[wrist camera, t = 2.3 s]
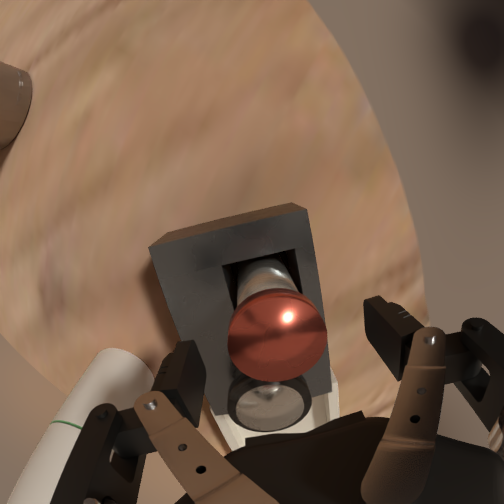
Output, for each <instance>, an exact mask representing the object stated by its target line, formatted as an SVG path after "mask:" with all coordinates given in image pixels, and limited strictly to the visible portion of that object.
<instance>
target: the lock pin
mask: <svg viewBox="0 0 504 504" xmlns="http://www.w3.org/2000/svg"><path fill="white" fill-rule="evenodd" d="M326 343H327V329H326V326H325V323H324V321H323V319H322V317H321V316H320V314H319V312H318V310H317V309H316V307H315V305H314V304H313V303H312V302H311V300H309V299H308V298H307V297H306V296H304V295H303V294H301V293H299V292H298V290H297V288H296V286H295V284H294V282H293V280H292V278H291V276H290V274H289V273H288V271H287V269H286V267H285V265H284V263H283V261H282V259H281V257H280V255H279V254H278V253H273V254H269V255H264V256H260V257H256V258H251V259H247V260H243V261H239V262H238V285H237V308H236V309H235V310H234V312H233V314H232V316H231V318H230V322H229V328H228V343H227V346H228V352H229V356H230V358H231V360H232V362H233V363H234V365H235V366H236V367H237V368H238V369H239V370H240V371H241V372H243V373H244V374H246V375H247V376H249V377H251V378H254V379H257V380H261V381H267V382H279V381H285V380H289V379H293V378H295V377H298V376H300V375H302V374H303V373H305V372H307V371H308V370H309V369H311V368H312V367H313V366H314V365H315V364H316V363H317V362H318V360H319V359H320V358H321V356H322V354H323V352H324V350H325V347H326Z"/></svg>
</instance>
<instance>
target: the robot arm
mask: <svg viewBox="0 0 504 504" xmlns="http://www.w3.org/2000/svg"><path fill="white" fill-rule="evenodd" d="M31 96H32V81H31V78H30V76H29V74H28V73H27V72H25V71H23V70H21V69H18V68H16V67H13V66H11V65H8V64H5V63H3V62H0V149H2V148H4V147H6V146H7V145H8V144H9V143H10V142H11V141H12V140H13V139H14V138H15V136H16V135H17V133H18V132H19V130H20V128H21V126H22V124H23V122H24V120H25V117H26V115H27V112H28V109H29V106H30V101H31ZM363 306H364V323H365V333H366V336H367V339H368V340H369V342H370V343H371V345H372V346H373V347H374V349H375V350H376V351H377V353H378V354H379V356H380V357H381V358H382V360H383V361H384V363H385V364H386V365H387V367H388V368H389V370H390V371H391V372H392V374H393V375H394V377H395V378H396V380H397V381H400V380H401V384H400V387H399V391H398V394H397V398H396V401H395V404H394V407H393V410H392V413H391V416H390V418H385V417H367V418H365V417H364V415H363V412H362V410H361V411H358V412H355V413H352V414H349V415H346V416H343V417H339V418H336V419H333V420H331V421H329V422H327V423H325V424H323V425H321V426H319V427H317V428H315V429H313V430H310V431H308V432H305V433H273V434H267V435H261V436H255V437H248V438H245V446H243V447H241V448H238V449H236V450H234V451H232V452H230V453H229V454H227V455H226V456H224V457H223V456H222V455H221V454H220V453H219V452H218V451H217V450H216V449H215V448H214V447H213V446H212V445H211V444H210V443H209V442H208V441H207V440H206V439H205V438H204V437H203V436H202V435H201V434H200V433H199V431H198V430H197V429H196V428H198V426H199V420H200V414H201V408H202V402H203V395H204V389H205V384H206V377H207V374H206V368H205V365H204V362H203V360H202V358H201V355H200V353H199V350H198V347H197V345H196V343H195V341H194V340H186V341H180V342H177V345H176V347H175V350H174V352H173V353H169V354H168V355H167V356H166V357H165V358H164V360H163V361H162V364H161V366H160V368H159V371H158V374H157V376H156V378H155V381H154V383H153V386H152V388H151V391H150V392H147V393H144V394H143V395H141V396H140V397H138V398H137V400H136V401H135V403H134V407H132V408H129V409H125V410H121V411H118V410H117V408H116V407H115V406H114V405H113V404H111V403H103V404H100V405H98V406H96V407H95V408H93V409H92V410H91V411H90V413H89V415H88V417H87V419H86V421H85V423H84V425H83V427H82V429H81V431H80V434H79V436H78V438H77V440H76V442H75V444H74V446H73V449H72V451H71V453H70V455H69V458H68V460H67V462H66V464H65V467H64V469H63V471H62V474H61V476H60V479H59V481H58V484H57V486H56V489H55V491H54V494H53V496H52V499H51V501H50V504H136V503H137V498H138V493H139V488H140V483H141V478H142V473H143V468H144V464H145V459H146V454H148V453H152V452H156V451H158V453H159V454H160V456H161V457H162V458H163V460H164V462H165V463H166V465H167V466H168V468H169V469H170V471H171V472H172V473H173V475H174V476H175V477H176V479H177V480H178V482H179V483H180V484H181V485H182V487H183V488H184V490H185V491H186V492H187V493H186V494H185V495H184V496H183V497H181V498H180V499H179V500H178V501H177V502H176V503H175V504H504V334H503V333H501V332H500V331H499V330H498V329H497V328H495V327H494V326H493V325H492V324H490V323H489V322H488V321H486V320H485V319H482V318H470V319H467V320H466V321H464V322H463V324H462V328H461V332H456V333H451V334H445V333H444V331H443V330H441V329H439V328H437V327H424V326H423V325H422V324H421V323H420V322H419V321H417V320H416V319H415V318H414V317H413V316H412V315H410V313H408V312H407V311H406V310H405V309H404V308H403V307H402V306H400V305H398V304H396V303H393V302H389V303H387V302H386V301H385V300H384V299H383V298H382V297H381V296H379V295H378V296H375V297H372V298H368V299H365V300H364V303H363ZM482 363H483V364H484V365H485V366H486V367H487V369H488V370H489V372H490V376H489V375H488V373H486V371H485V370H484V369H483V368H482V367H481V366H482ZM450 383H454V385H455V386H456V387H457V388H458V390H459V391H460V392H461V394H462V395H463V396H464V398H465V399H466V400H467V401H468V403H469V404H470V406H471V407H472V408H473V410H474V411H475V413H476V414H477V415H478V417H479V418H480V420H481V421H482V422H483V424H484V425H485V427H486V428H487V430H488V431H489V432H490V433H489V436H488V445H489V447H490V449H488V448H485V447H481V446H477V445H473V444H469V443H465V442H462V441H458V440H455V439H451V438H448V437H445V436H441V435H438V434H437V431H438V426H439V421H440V415H441V408H442V402H443V394H444V385H445V384H450ZM112 449H113V450H114V453H113V456H112V459H111V462H110V455H111V452H112Z"/></svg>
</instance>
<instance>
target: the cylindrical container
mask: <svg viewBox="0 0 504 504" xmlns="http://www.w3.org/2000/svg"><path fill="white" fill-rule="evenodd" d="M154 381H155V380H154V377H153V374H152V372H151V370H150V369H149V368H148V366H147V365H146V364H145V363H144V362H143V361H142V360H141V359H139V358H138V357H137V356H135V355H133V354H131V353H130V352H127V351H125V350H122V349H117V348H107V349H104V350H101V351H100V352H99V353H98V354H97V355H96V357H95V358H94V359H93V361H92V362H91V364H90V365H89V366H88V368H87V369H86V371H85V372H84V374H83V375H82V376H81V378H80V379H79V381H78V382H77V384H76V385H75V387H74V388H73V390H72V391H71V393H70V394H69V396H68V397H67V399H66V400H65V402H64V403H63V405H62V407H61V408H60V409H59V411H58V413H57V414H56V416H55V417H54V419H53V420H52V422H51V424H50V426H49V427H48V428H47V430H46V432H45V433H44V435H43V437H42V438H41V440H40V442H39V443H38V445H37V447H36V449H35V450H34V452H33V454H32V456H31V457H30V459H29V461H28V463H27V465H26V466H25V468H24V470H23V472H22V474H21V476H20V477H19V479H18V481H17V483H16V485H15V488H14V489H13V491H12V493H11V495H10V497H9V499H8V502H7V504H50V501H51V499H52V496H53V494H54V491H55V489H56V486H57V484H58V481H59V479H60V476H61V474H62V471H63V469H64V467H65V464H66V462H67V460H68V458H69V455H70V453H71V451H72V449H73V446H74V444H75V442H76V440H77V438H78V436H79V434H80V431H81V429H82V427H83V425H84V423H85V421H86V419H87V417H88V415H89V413H90V411H91V410H92V409H93V408H95V407H96V406H98V405H100V404H103V403H111V404H113V405H114V406H115V407H116V408H117V410H118V411H121V410H125V409H129V408H132V407H134V403H135V401H136V400H137V398H138V397H140V396H141V395H143V394H144V393H147V392H150V391H151V388H152V386H153V383H154ZM113 453H114V450H113V449H112V452H111V455H110V462H111V459H112V456H113Z"/></svg>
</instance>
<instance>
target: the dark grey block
mask: <svg viewBox="0 0 504 504" xmlns="http://www.w3.org/2000/svg"><path fill="white" fill-rule="evenodd" d="M148 248H149V251H150V255H151V258H152V261H153V264H154V267H155V270H156V273H157V276H158V279H159V282H160V285H161V288H162V291H163V294H164V297H165V299H166V302H167V305H168V308H169V310H170V313H171V316H172V318H173V321H174V324H175V326H176V329H177V331H178V334H179V336H180V339H181V341H186V340H194V341H195V343H196V345H197V347H198V350H199V353H200V355H201V358H202V360H203V362H204V365H205V368H206V374H207V377H206V384H205V389H204V394H205V396H206V398H207V400H208V402H209V404H210V406H211V408H212V410H213V412H214V414H215V416H218V415H226V414H229V416H230V418H231V419H232V421H233V422H235V423H236V424H237V425H239V426H240V427H242V428H244V429H247V430H250V431H255V432H275V431H280V430H284V429H287V428H289V427H291V426H293V425H295V424H297V423H298V422H300V421H301V420H302V419H303V418H304V417H305V416H306V415H307V414H308V412H309V410H310V408H311V405H312V397H316V396H319V395H323V394H327V393H330V392H332V381H331V370H330V360H329V351H328V342H327V343H326V347H325V350H324V352H323V354H322V356H321V358H320V359H319V360H318V362H317V363H316V364H315V365H314V366H313V367H312V368H311V369H309V370H308V371H307V372H305V373H303V374H302V375H300V376H298V377H295V378H293V379H289V380H285V381H279V382H267V381H261V380H257V379H254V378H251V377H249V376H247V375H246V374H244V373H243V372H241V371H240V370H239V369H238V368H237V367H236V366H235V365H234V363H233V362H232V360H231V358H230V356H229V352H228V346H227V343H228V328H229V322H230V318H231V316H232V314H233V312H234V310H235V309H236V308H237V289H236V285H235V281H234V278H233V274H232V270H231V266H230V263H234V262H239V261H243V260H247V259H251V258H256V257H260V256H264V255H269V254H273V253H277V252H281V251H286V252H287V257H288V262H289V267H290V272H291V277H292V280H293V282H294V284H295V286H296V288H297V290H298V292H299V293H301V294H303V295H304V296H306V297H307V298H308V299H309V300H311V302H312V303H313V304H314V305H315V307H316V309H317V310H318V312H319V314H320V316H321V317H322V319H323V321H324V323H325V317H324V310H323V302H322V295H321V289H320V282H319V275H318V269H317V263H316V257H315V251H314V245H313V239H312V234H311V228H310V223H309V218H308V213H307V209H305V208H303V207H301V206H299V205H296V204H294V203H287V204H283V205H278V206H274V207H269V208H265V209H260V210H256V211H252V212H248V213H243V214H239V215H235V216H231V217H227V218H222V219H218V220H214V221H210V222H206V223H202V224H198V225H195V226H191V227H187V228H183V229H179V230H175V231H172V232H168V233H166V234H165V235H164V236H162V237H161V238H160V239H158V240H157V241H156V242H155V243H153V244H152V245H151V246H149V247H148ZM325 326H326V325H325Z"/></svg>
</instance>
